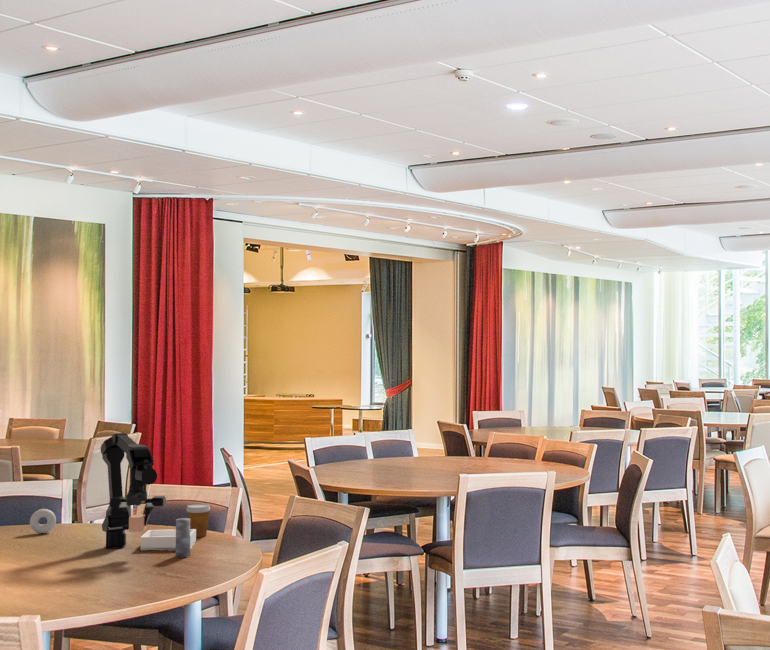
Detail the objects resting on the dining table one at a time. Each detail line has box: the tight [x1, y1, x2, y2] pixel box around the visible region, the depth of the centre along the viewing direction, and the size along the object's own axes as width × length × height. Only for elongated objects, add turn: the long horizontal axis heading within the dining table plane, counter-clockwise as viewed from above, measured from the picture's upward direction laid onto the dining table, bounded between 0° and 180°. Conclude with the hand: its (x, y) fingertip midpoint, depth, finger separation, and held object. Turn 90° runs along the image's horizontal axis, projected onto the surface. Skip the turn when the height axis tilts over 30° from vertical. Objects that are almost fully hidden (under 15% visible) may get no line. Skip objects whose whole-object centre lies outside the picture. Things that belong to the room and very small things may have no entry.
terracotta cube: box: [128, 514, 147, 533], centre depth 300 cm, size 5×5×5 cm
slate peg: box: [175, 517, 191, 558], centre depth 300 cm, size 5×5×13 cm
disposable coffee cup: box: [185, 503, 212, 538], centre depth 336 cm, size 10×10×12 cm
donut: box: [29, 508, 57, 534], centre depth 343 cm, size 10×3×10 cm, turn 113°
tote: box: [140, 528, 197, 551], centre depth 317 cm, size 18×14×5 cm
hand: (137, 525), depth 300 cm, fingers closed on terracotta cube, 5 cm apart
